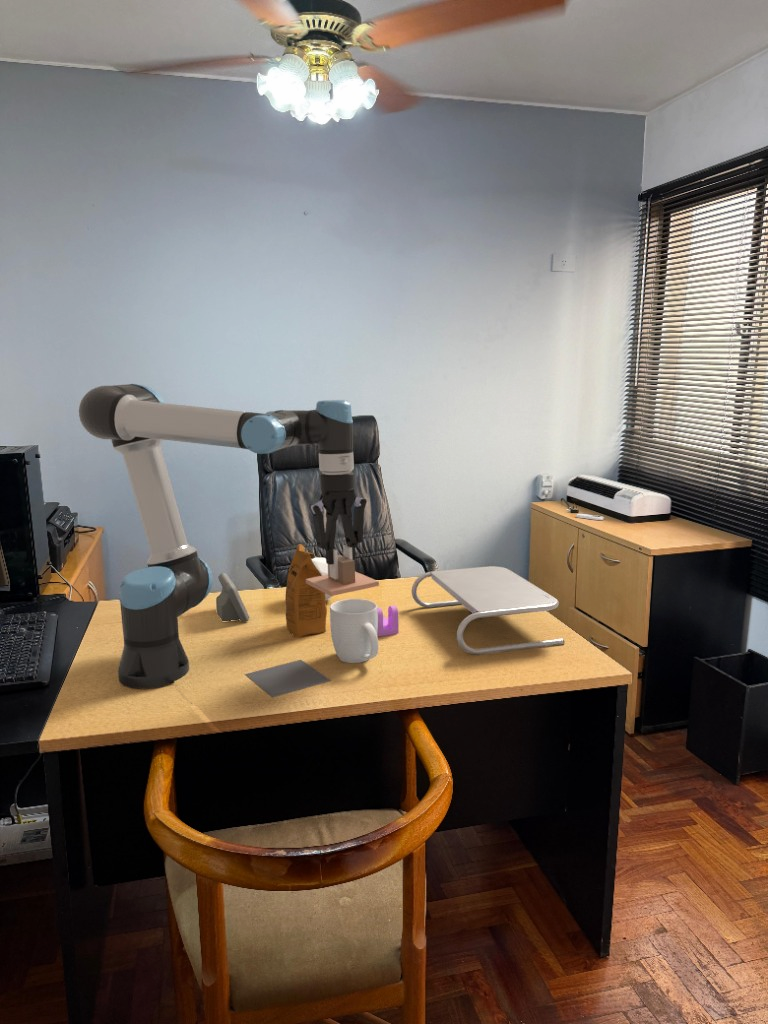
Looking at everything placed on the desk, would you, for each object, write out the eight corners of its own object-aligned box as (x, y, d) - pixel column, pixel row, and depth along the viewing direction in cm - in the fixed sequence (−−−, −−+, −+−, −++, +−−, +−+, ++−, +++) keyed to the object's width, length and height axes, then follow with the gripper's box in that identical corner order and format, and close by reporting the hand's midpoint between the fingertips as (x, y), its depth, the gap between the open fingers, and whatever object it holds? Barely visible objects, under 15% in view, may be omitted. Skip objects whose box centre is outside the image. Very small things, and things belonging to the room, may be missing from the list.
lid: (331, 596, 153) (329, 568, 152) (305, 583, 163) (304, 557, 162) (378, 585, 159) (378, 559, 158) (351, 574, 169) (350, 549, 168)
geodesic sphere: (335, 593, 199) (338, 547, 205) (286, 592, 200) (290, 547, 206) (341, 609, 212) (343, 566, 218) (295, 609, 213) (298, 566, 219)
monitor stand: (565, 645, 176) (566, 603, 174) (457, 658, 169) (458, 614, 167) (502, 600, 211) (502, 564, 209) (410, 609, 204) (410, 572, 202)
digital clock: (249, 624, 193) (247, 586, 191) (215, 626, 191) (212, 588, 189) (249, 605, 208) (247, 569, 206) (217, 607, 207) (215, 571, 204)
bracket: (398, 633, 185) (398, 608, 183) (378, 636, 183) (377, 610, 181) (380, 617, 197) (380, 593, 195) (361, 620, 195) (360, 596, 193)
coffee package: (319, 619, 195) (316, 540, 191) (330, 635, 184) (328, 551, 179) (282, 624, 192) (279, 544, 188) (291, 640, 181) (288, 555, 176)
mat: (272, 700, 148) (272, 697, 148) (244, 676, 160) (244, 674, 159) (331, 682, 156) (331, 680, 156) (300, 661, 167) (300, 659, 167)
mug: (396, 667, 164) (396, 612, 161) (355, 678, 158) (354, 622, 155) (362, 646, 176) (361, 595, 173) (322, 656, 170) (321, 604, 168)
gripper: (311, 477, 149) (317, 586, 153) (377, 470, 157) (380, 573, 162) (295, 474, 155) (301, 579, 160) (359, 466, 164) (363, 566, 168)
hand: (341, 576), depth 161 cm, fingers closed on lid, 3 cm apart
